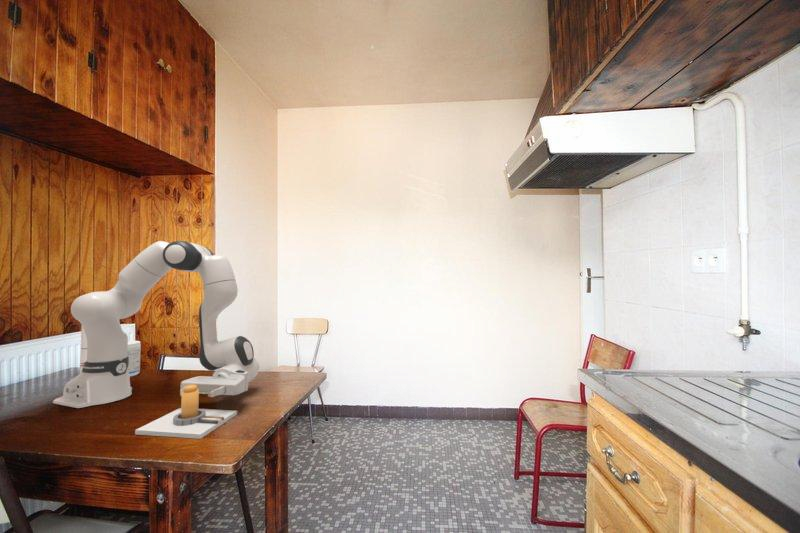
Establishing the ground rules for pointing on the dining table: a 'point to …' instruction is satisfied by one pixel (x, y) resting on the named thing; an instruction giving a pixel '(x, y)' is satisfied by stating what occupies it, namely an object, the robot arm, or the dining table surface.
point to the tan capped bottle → (189, 401)
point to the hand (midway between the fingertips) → (195, 393)
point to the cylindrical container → (83, 348)
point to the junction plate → (184, 430)
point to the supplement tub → (134, 357)
